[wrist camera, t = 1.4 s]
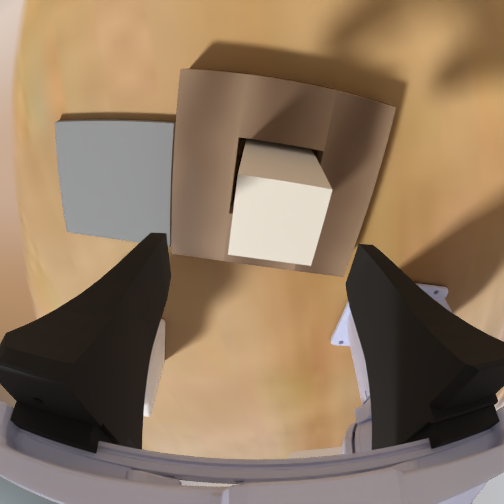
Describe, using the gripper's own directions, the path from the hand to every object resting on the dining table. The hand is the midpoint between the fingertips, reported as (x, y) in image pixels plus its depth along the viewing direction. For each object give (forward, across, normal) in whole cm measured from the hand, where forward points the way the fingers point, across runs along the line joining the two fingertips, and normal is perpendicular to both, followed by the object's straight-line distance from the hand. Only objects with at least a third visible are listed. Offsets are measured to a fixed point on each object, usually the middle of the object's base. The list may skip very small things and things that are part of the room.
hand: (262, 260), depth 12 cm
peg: (+10, -1, 0) cm, 10 cm away
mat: (+10, +10, +2) cm, 14 cm away
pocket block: (+10, -1, 0) cm, 10 cm away
